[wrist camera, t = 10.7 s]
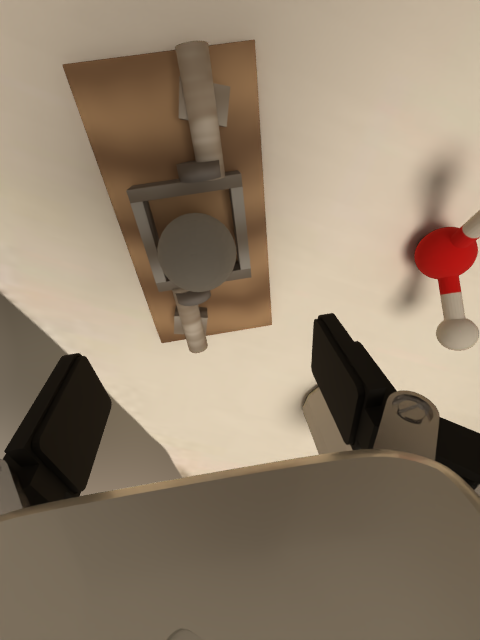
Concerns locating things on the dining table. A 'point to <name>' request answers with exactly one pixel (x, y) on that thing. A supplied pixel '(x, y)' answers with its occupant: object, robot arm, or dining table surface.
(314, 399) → the jar
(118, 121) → the shaft bench
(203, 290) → the light bulb
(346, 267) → the dining table surface
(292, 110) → the dining table surface
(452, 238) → the molecular model
